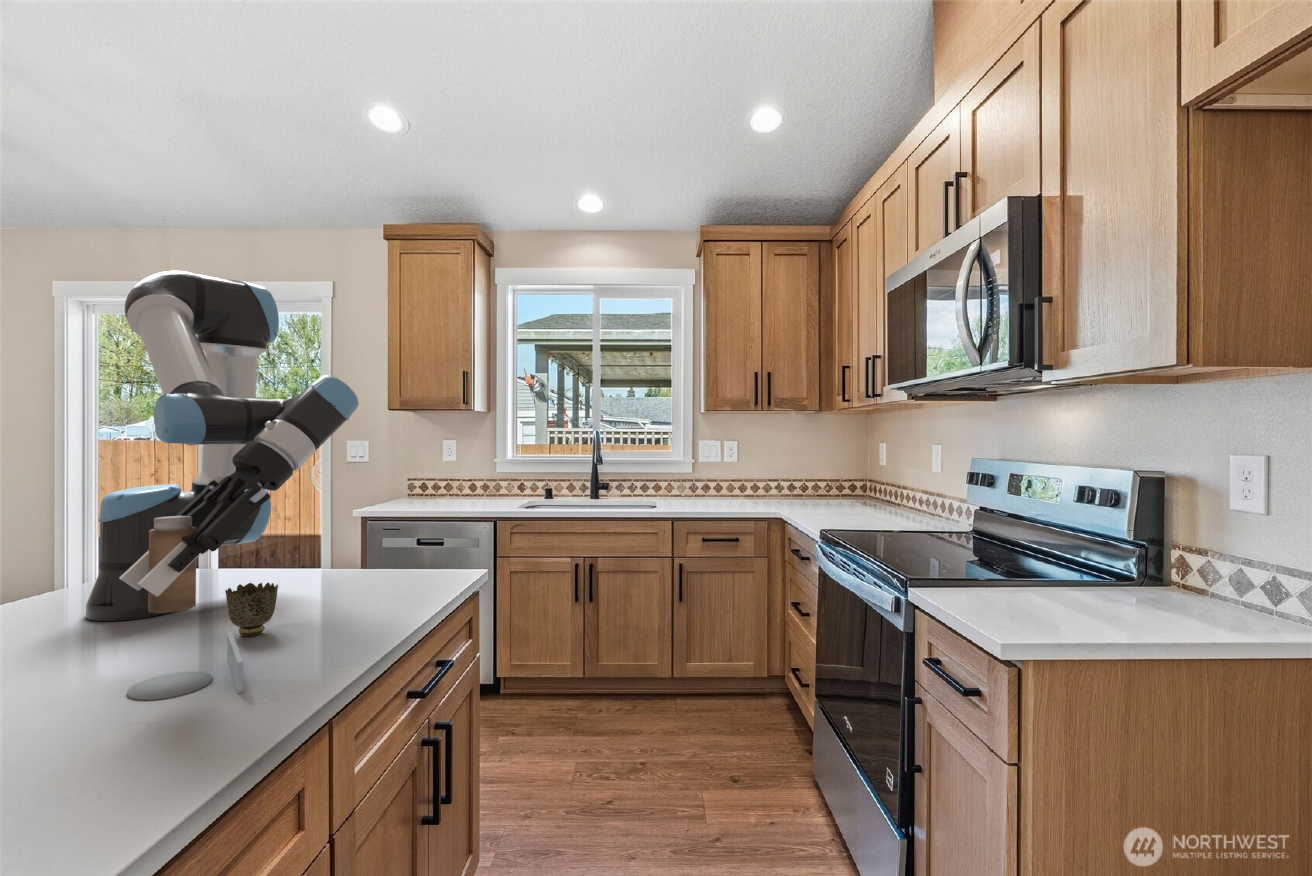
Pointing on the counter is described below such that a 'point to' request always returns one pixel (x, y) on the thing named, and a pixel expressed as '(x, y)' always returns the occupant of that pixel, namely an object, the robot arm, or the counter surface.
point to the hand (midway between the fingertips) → (138, 586)
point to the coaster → (169, 685)
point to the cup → (251, 607)
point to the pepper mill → (160, 545)
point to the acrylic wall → (235, 662)
